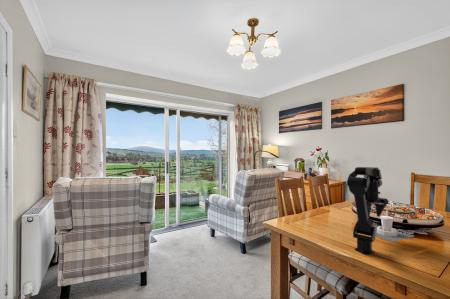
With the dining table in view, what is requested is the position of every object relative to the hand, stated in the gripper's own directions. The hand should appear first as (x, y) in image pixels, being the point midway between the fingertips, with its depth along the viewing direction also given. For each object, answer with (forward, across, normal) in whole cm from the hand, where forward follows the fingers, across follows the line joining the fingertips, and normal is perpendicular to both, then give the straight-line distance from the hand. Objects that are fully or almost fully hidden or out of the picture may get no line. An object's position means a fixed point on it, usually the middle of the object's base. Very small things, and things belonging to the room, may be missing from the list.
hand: (372, 217), depth 119 cm
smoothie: (+13, -17, -3) cm, 21 cm away
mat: (+13, -17, -3) cm, 22 cm away
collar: (+12, -17, -3) cm, 21 cm away
